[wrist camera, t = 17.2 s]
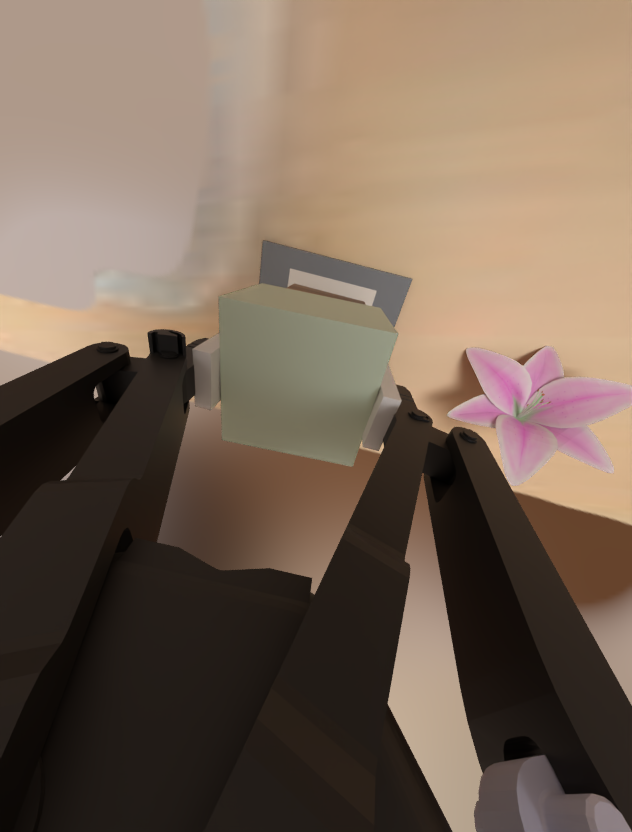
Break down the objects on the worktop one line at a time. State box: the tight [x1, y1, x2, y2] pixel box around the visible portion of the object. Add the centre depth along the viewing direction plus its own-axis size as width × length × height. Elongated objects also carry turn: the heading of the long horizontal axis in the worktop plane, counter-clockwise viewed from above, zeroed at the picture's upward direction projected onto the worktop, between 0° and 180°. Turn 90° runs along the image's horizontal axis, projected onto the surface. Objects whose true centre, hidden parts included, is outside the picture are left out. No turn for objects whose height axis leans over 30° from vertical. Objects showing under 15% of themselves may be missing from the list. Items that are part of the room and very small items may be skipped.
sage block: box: [219, 283, 398, 466], centre depth 14 cm, size 7×7×6 cm
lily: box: [447, 346, 632, 486], centre depth 22 cm, size 12×12×10 cm
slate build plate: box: [259, 240, 412, 327], centre depth 23 cm, size 10×12×1 cm
